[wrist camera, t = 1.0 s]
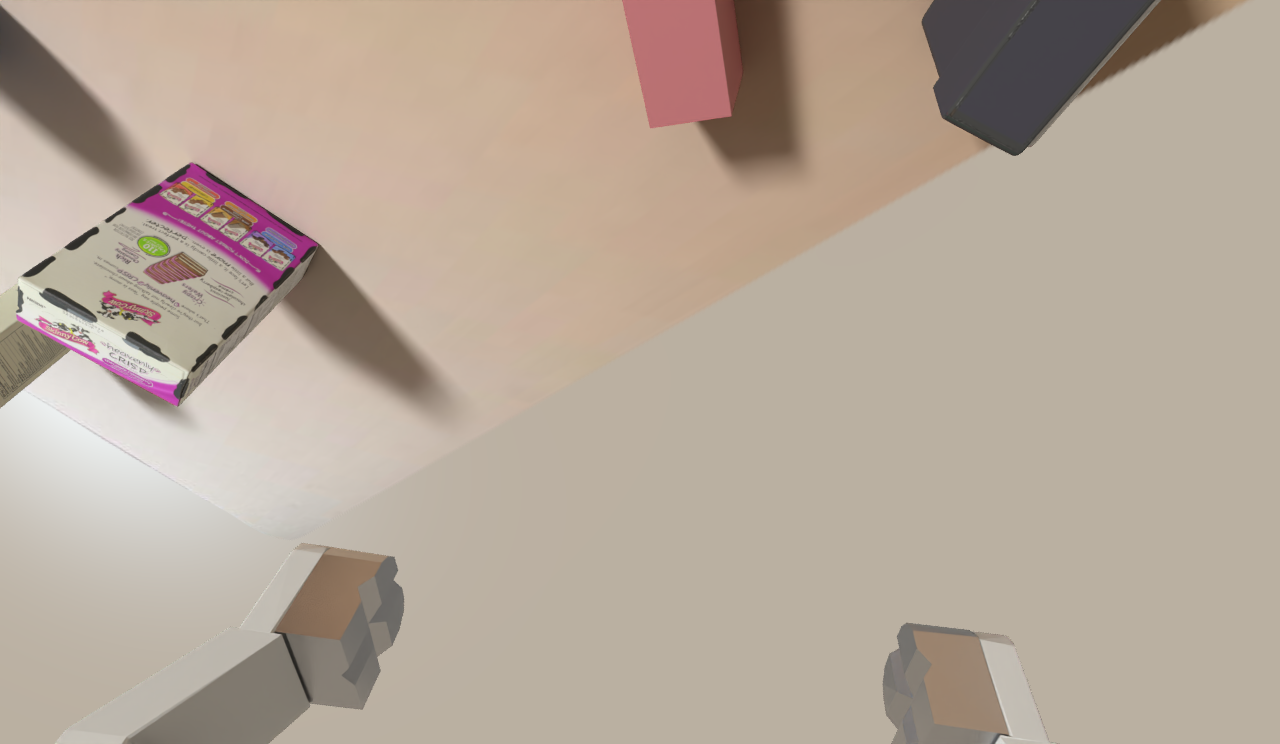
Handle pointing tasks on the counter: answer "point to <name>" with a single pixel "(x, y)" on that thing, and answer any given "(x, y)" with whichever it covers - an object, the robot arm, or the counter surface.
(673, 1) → the boxed book
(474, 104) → the counter surface
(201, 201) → the candy bar box
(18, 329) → the skincare box
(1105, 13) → the stepped charcoal slab
